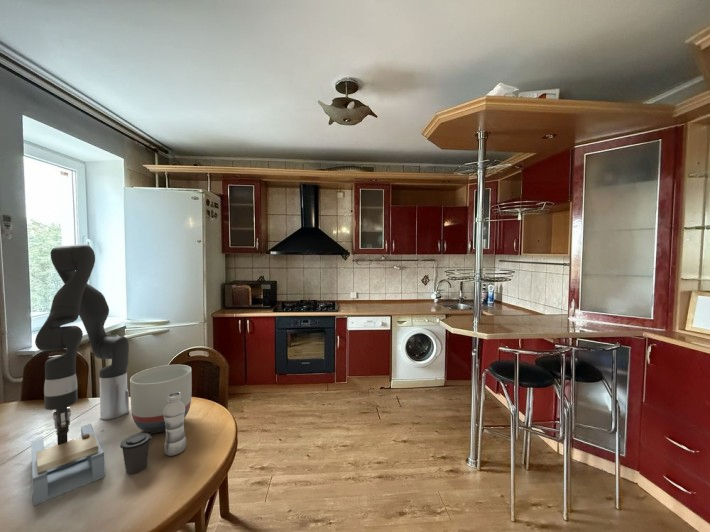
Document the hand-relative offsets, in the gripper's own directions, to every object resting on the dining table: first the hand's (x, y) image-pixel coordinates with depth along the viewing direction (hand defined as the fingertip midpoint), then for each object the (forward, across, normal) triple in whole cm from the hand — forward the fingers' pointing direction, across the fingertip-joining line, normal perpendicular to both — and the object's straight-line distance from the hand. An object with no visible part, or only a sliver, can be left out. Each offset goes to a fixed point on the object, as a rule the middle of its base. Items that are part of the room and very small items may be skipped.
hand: (62, 444), depth 97 cm
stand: (+8, -1, -1) cm, 8 cm away
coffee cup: (+8, -17, -16) cm, 25 cm away
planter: (+8, +4, -29) cm, 30 cm away
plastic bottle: (+8, -17, -27) cm, 33 cm away
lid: (+1, -6, -1) cm, 6 cm away
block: (+7, +3, -1) cm, 8 cm away
